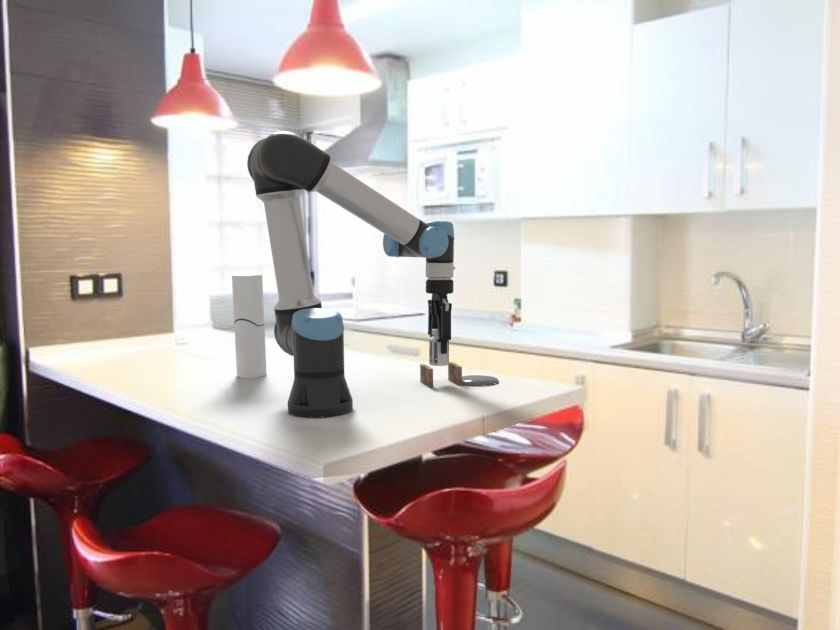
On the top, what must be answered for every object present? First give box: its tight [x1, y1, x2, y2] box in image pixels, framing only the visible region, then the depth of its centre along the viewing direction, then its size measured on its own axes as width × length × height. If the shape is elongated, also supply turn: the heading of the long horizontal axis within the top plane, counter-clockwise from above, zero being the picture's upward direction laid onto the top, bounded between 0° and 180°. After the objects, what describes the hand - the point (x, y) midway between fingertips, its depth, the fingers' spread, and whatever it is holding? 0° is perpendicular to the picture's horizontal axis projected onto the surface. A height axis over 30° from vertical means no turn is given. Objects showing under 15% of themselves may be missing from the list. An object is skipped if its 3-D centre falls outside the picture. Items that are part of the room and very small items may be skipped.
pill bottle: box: [428, 329, 450, 367], centre depth 191 cm, size 5×5×10 cm
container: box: [231, 272, 267, 379], centre depth 206 cm, size 9×9×30 cm
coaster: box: [461, 374, 499, 387], centre depth 194 cm, size 12×12×1 cm
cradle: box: [419, 361, 463, 389], centre depth 192 cm, size 8×9×5 cm
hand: (439, 363), depth 192 cm, fingers closed on pill bottle, 5 cm apart
